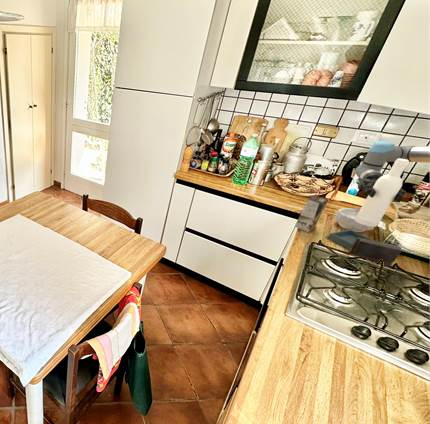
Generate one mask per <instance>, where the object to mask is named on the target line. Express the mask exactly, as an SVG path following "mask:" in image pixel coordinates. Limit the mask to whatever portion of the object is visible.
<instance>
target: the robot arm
mask: <svg viewBox="0 0 430 424" xmlns="http://www.w3.org/2000/svg"><path fill="white" fill-rule="evenodd" d="M399 158H401V159H406V160H409V162H408V163H423V164H424V163H426V164H430V145H395V143H393V142H391V141H387V140H386V141H385V140H376V141H374V142H373V143H372V145H371V146H370V148H369V149H368V151H367V154H366V156H365V157H364V159H363V161H362V163H361V164H359V165H358V166H356V169H355V175H356V177H357V180H356V182H355V184H356V185H357V190H359V191H361V190H362V193H363V194H364V193H365V194H368V195H369V196H370V197H372V198H373V197H374V195H375V193H376V191H375V190H374V188H373V186H374V185H375V183H376V181H377V180H378V179H379V178H380V177H381V176H384V174H383V173H382V172H381V171H382V169H383V167H384V166H385V164H386V163H392V162H395V161H396V160H397V159H399ZM406 194H407V191H406V190H405V189H403V188H402V187H401V188H400V190H399V191H398V193H397V195H396V196H395V198H394V199H393V200H395V202H396V203H400V202H401V201H402V200H403V198H404V197H405V195H406Z"/></svg>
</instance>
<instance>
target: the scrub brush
mask: <svg viewBox="0 0 430 424" xmlns="http://www.w3.org/2000/svg"><path fill="white" fill-rule="evenodd" d="M372 240H373V239H372ZM372 240H368V239H364V238H359V237H357V238H356V240H355V242H354V243H353V245H352V247H351V248H350V250H349V249H348V252H347V256H348V255H350V254H353V255H354V256H355V255H356V256H360V257H363V258H364V259H365V258H367V259H368V260H369V261H371V262H375V263H377V262H378V261H379V260H380V259H383V262H384V266H383V267H385V266H388V267H387V268H389V267H391V268H392V267H393V265H392V264H393V263H394V262H395V261H396V259H397V258H398V257H399V255H400V254H401V252H402V247H401V246H397V245H393V244H390V243H385V242H381V241H377V240H374V241H372ZM367 259H366V260H367Z"/></svg>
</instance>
